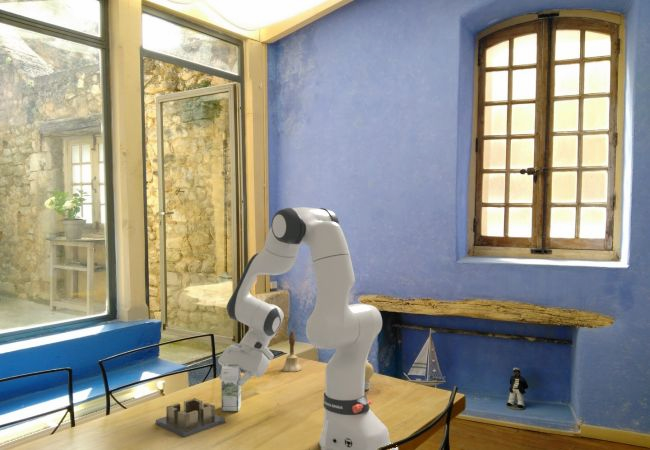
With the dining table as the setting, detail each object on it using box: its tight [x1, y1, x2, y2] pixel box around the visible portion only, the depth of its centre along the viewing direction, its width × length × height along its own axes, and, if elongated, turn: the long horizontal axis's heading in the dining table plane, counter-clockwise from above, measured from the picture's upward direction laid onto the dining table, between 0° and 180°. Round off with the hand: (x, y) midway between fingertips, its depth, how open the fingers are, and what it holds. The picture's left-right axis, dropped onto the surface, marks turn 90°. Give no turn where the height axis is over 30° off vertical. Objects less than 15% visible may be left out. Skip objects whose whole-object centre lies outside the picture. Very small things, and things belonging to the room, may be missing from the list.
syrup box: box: [220, 364, 242, 413], centre depth 176 cm, size 6×6×14 cm
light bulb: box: [364, 361, 375, 391], centre depth 197 cm, size 6×6×10 cm
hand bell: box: [281, 330, 303, 373], centre depth 222 cm, size 8×8×16 cm
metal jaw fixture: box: [155, 397, 226, 438], centre depth 164 cm, size 15×15×5 cm
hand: (229, 381), depth 176 cm, fingers closed on syrup box, 8 cm apart
